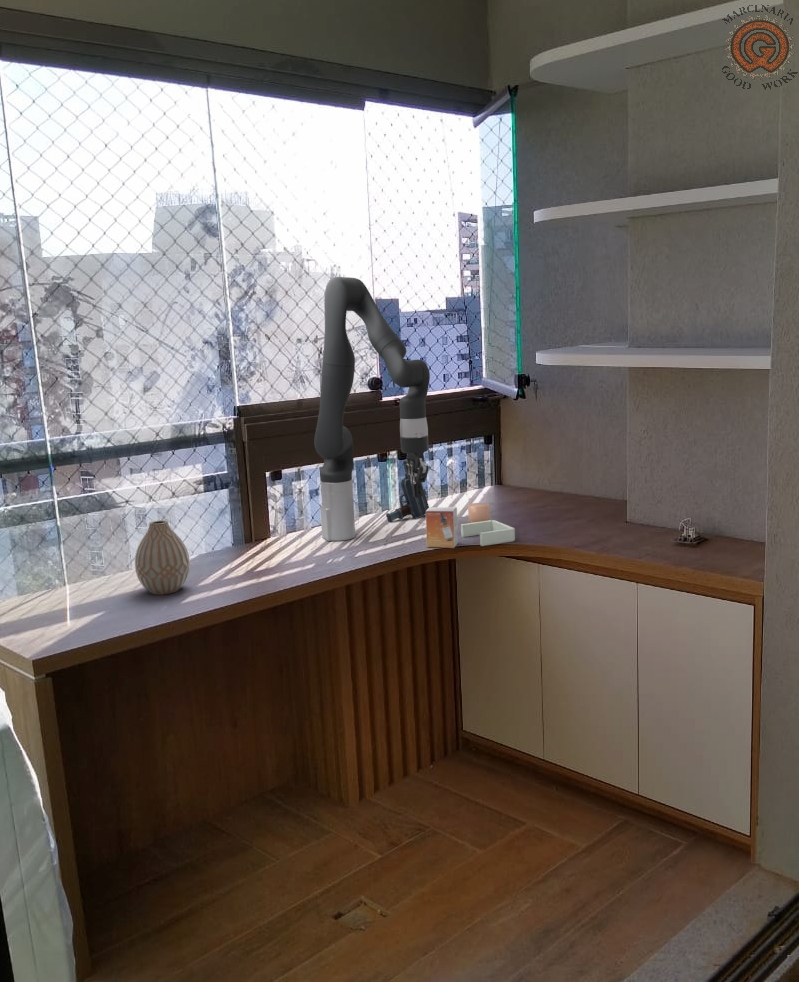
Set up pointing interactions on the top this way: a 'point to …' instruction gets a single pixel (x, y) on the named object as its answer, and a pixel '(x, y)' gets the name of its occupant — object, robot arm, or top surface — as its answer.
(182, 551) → the vase
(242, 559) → the top surface
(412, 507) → the gun
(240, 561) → the top surface
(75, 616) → the top surface
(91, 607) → the top surface
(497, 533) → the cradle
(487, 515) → the tan square slab
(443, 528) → the small box
